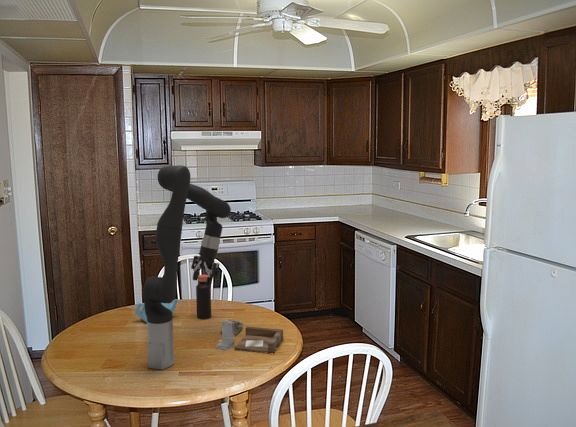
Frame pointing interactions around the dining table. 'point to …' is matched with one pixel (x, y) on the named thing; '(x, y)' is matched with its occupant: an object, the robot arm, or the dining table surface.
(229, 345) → the bracket
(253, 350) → the arena
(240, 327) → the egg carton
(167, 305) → the teapot
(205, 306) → the bottle
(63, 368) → the dining table surface
